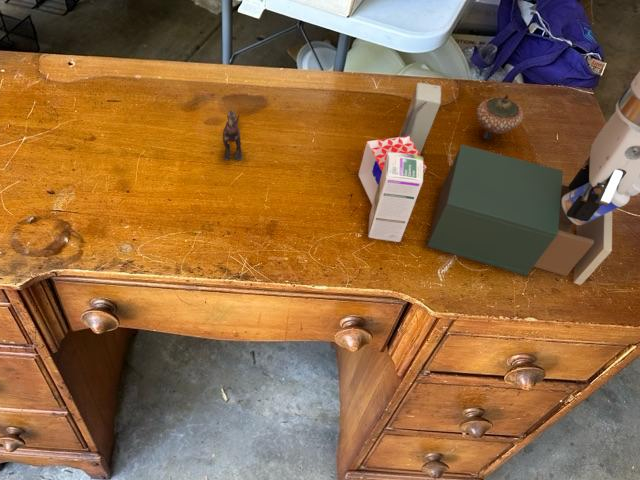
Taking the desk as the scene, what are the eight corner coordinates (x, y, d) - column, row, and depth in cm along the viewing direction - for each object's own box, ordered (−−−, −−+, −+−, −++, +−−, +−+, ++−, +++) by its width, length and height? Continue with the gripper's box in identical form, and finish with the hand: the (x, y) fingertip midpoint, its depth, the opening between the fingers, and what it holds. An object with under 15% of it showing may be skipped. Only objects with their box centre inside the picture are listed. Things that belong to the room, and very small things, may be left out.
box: (398, 137, 112) (416, 80, 101) (420, 141, 112) (441, 84, 101) (396, 155, 109) (415, 98, 98) (419, 159, 109) (441, 102, 98)
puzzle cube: (413, 199, 103) (426, 166, 96) (372, 205, 102) (382, 172, 95) (397, 169, 107) (409, 135, 101) (358, 174, 106) (367, 140, 99)
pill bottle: (556, 207, 88) (621, 174, 80) (564, 189, 91) (626, 156, 83) (579, 232, 88) (645, 202, 80) (586, 214, 91) (650, 183, 83)
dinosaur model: (223, 116, 96) (227, 68, 105) (220, 171, 105) (223, 122, 114) (247, 118, 96) (248, 70, 105) (241, 173, 105) (243, 124, 114)
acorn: (510, 131, 114) (533, 88, 106) (506, 157, 110) (529, 114, 101) (469, 120, 116) (489, 77, 107) (463, 145, 111) (483, 102, 103)
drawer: (590, 229, 99) (620, 192, 92) (588, 287, 92) (620, 253, 84) (493, 202, 102) (514, 165, 94) (484, 256, 95) (506, 221, 87)
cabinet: (533, 214, 102) (563, 170, 93) (526, 276, 94) (557, 234, 85) (440, 189, 104) (461, 144, 96) (426, 246, 97) (447, 203, 88)
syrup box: (400, 243, 97) (426, 181, 85) (366, 238, 97) (386, 175, 85) (401, 218, 100) (425, 155, 88) (367, 213, 101) (387, 150, 89)
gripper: (687, 156, 68) (601, 251, 83) (679, 76, 77) (603, 174, 92) (622, 139, 69) (548, 236, 84) (621, 62, 78) (555, 162, 93)
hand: (577, 203), depth 88 cm, fingers closed on pill bottle, 5 cm apart
